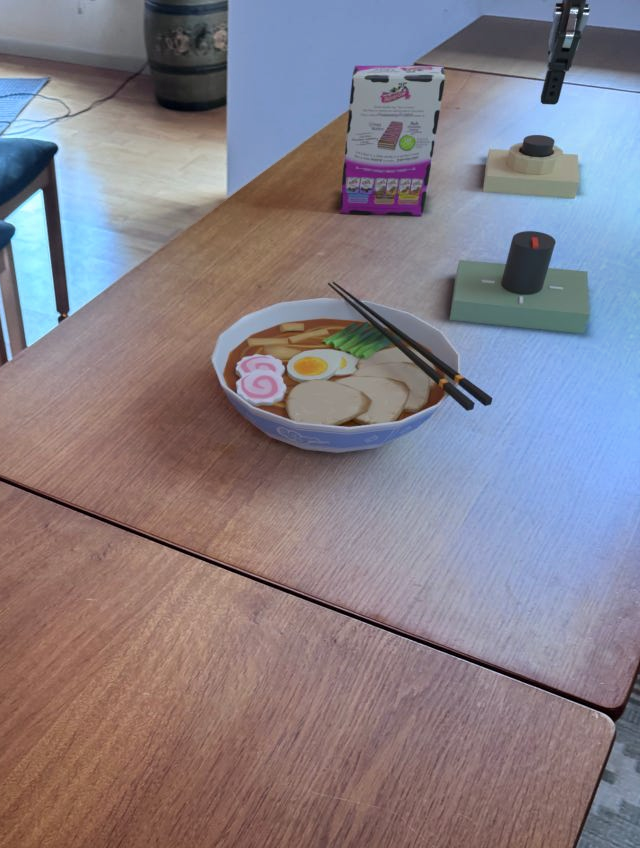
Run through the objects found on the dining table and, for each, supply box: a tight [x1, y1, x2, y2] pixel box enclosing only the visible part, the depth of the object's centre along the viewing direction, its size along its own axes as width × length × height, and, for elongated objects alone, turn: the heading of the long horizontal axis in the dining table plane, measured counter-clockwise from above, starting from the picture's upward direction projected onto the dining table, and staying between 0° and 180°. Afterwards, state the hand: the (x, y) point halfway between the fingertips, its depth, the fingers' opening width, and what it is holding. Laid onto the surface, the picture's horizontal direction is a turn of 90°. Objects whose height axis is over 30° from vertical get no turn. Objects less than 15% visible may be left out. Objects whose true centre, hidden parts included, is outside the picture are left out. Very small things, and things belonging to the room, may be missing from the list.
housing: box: [482, 142, 580, 200], centre depth 125 cm, size 12×10×4 cm
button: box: [520, 134, 555, 157], centre depth 123 cm, size 4×4×2 cm
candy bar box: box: [338, 65, 446, 217], centre depth 116 cm, size 11×5×16 cm, turn 80°
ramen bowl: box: [210, 281, 494, 454], centre depth 86 cm, size 25×23×8 cm
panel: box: [449, 259, 591, 335], centre depth 101 cm, size 14×10×3 cm
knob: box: [501, 230, 557, 294], centre depth 98 cm, size 4×4×5 cm
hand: (548, 102), depth 119 cm, fingers closed
